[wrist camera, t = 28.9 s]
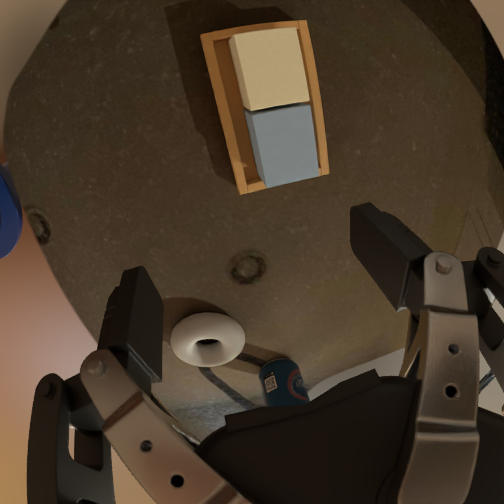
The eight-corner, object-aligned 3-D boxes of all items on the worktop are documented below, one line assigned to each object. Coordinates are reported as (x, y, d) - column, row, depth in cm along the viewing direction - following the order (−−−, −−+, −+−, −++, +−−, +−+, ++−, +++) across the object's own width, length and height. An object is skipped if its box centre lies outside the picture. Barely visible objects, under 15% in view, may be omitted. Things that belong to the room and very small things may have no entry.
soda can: (304, 362, 47) (324, 421, 37) (273, 380, 48) (289, 437, 39) (281, 350, 43) (301, 417, 33) (249, 370, 45) (262, 434, 35)
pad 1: (242, 106, 21) (250, 111, 18) (227, 41, 18) (233, 34, 15) (293, 96, 21) (310, 100, 18) (280, 33, 18) (295, 26, 15)
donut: (216, 358, 41) (258, 322, 38) (218, 377, 39) (262, 342, 35) (158, 337, 37) (195, 295, 33) (156, 358, 34) (195, 317, 30)
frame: (237, 187, 26) (240, 195, 25) (200, 37, 18) (200, 34, 16) (322, 167, 27) (329, 174, 25) (299, 23, 18) (306, 20, 16)
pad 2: (256, 172, 25) (266, 188, 22) (243, 109, 22) (251, 115, 18) (303, 161, 25) (319, 176, 22) (293, 100, 22) (310, 104, 18)
